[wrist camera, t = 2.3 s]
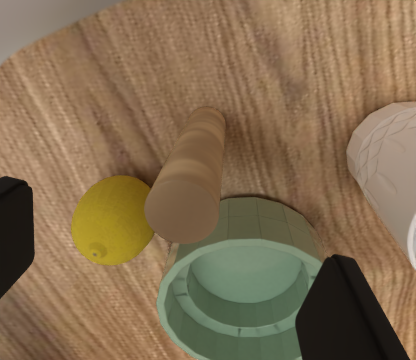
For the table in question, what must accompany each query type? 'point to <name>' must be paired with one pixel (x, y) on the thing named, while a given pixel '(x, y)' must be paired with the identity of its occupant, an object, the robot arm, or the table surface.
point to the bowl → (241, 283)
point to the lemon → (112, 221)
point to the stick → (190, 181)
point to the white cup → (389, 169)
